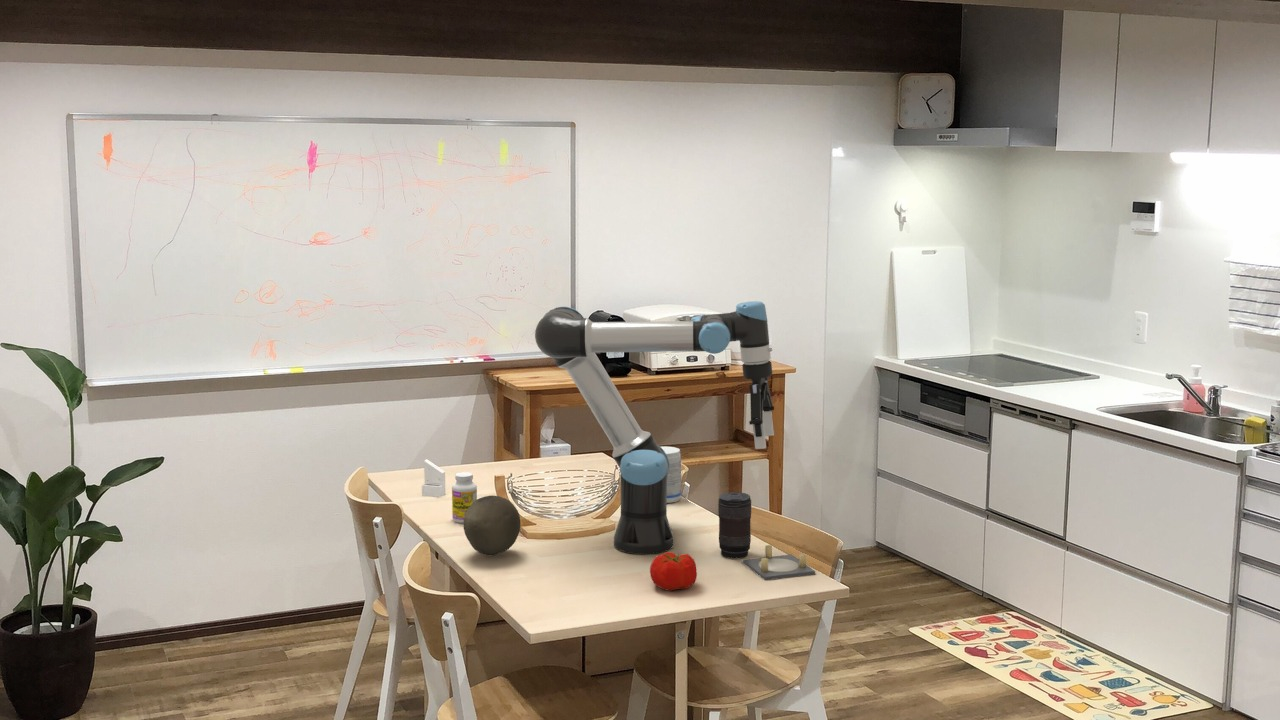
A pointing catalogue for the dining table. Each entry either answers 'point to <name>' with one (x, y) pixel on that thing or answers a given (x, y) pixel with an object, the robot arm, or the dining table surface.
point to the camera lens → (734, 524)
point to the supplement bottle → (462, 495)
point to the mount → (779, 565)
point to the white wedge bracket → (433, 480)
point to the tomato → (673, 571)
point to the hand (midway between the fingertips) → (764, 442)
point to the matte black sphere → (491, 525)
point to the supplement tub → (673, 474)
